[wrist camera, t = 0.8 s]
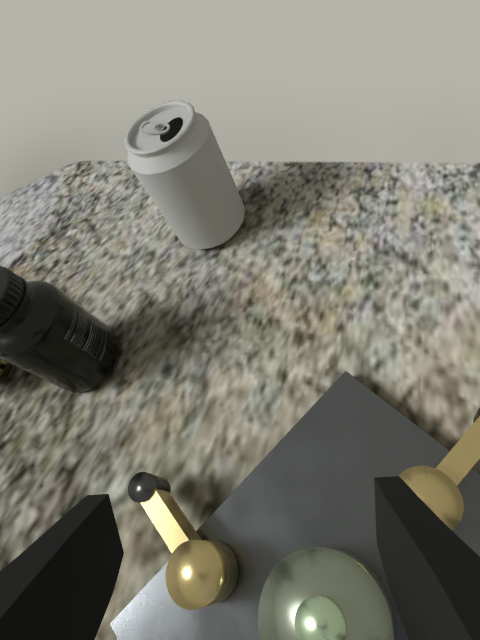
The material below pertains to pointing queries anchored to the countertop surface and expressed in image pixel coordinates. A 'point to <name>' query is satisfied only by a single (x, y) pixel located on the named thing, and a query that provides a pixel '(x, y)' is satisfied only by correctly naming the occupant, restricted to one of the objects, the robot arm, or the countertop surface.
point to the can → (185, 174)
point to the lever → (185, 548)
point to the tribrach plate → (308, 533)
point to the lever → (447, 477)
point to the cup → (4, 368)
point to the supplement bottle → (53, 335)
